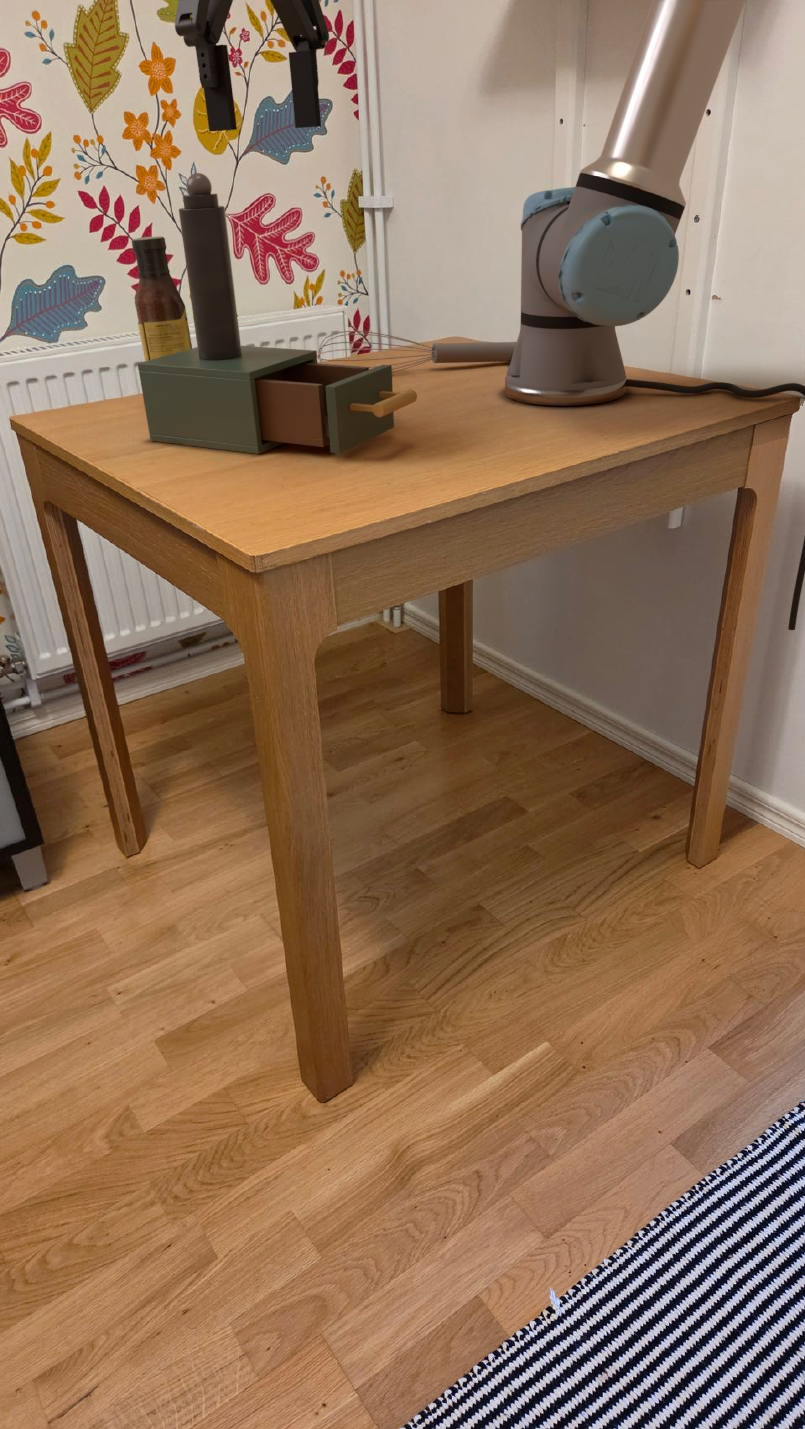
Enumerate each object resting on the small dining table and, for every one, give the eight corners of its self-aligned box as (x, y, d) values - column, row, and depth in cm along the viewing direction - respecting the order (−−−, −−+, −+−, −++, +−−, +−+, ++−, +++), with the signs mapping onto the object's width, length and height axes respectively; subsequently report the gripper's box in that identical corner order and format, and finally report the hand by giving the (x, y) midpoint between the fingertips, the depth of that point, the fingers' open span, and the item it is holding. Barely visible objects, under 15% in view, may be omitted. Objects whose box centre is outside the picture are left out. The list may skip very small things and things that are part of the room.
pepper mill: (250, 353, 112) (229, 171, 103) (223, 361, 109) (200, 173, 100) (217, 351, 115) (194, 172, 105) (190, 359, 111) (164, 174, 102)
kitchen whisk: (551, 363, 144) (552, 316, 141) (323, 386, 137) (319, 338, 134) (535, 356, 149) (536, 311, 146) (315, 378, 142) (311, 332, 139)
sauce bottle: (210, 401, 131) (187, 235, 121) (171, 411, 127) (145, 240, 117) (180, 395, 135) (155, 234, 125) (141, 404, 131) (113, 239, 121)
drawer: (428, 431, 109) (426, 367, 106) (375, 458, 101) (371, 390, 98) (289, 417, 118) (283, 357, 114) (229, 441, 109) (221, 377, 106)
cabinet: (322, 426, 117) (316, 350, 112) (258, 454, 107) (249, 372, 103) (218, 416, 124) (209, 343, 119) (150, 441, 114) (137, 363, 110)
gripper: (289, -123, 97) (310, 128, 108) (102, -174, 79) (150, 134, 89) (352, -137, 93) (368, 124, 104) (173, -194, 75) (214, 129, 86)
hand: (267, 129), depth 97 cm, fingers open, 13 cm apart
